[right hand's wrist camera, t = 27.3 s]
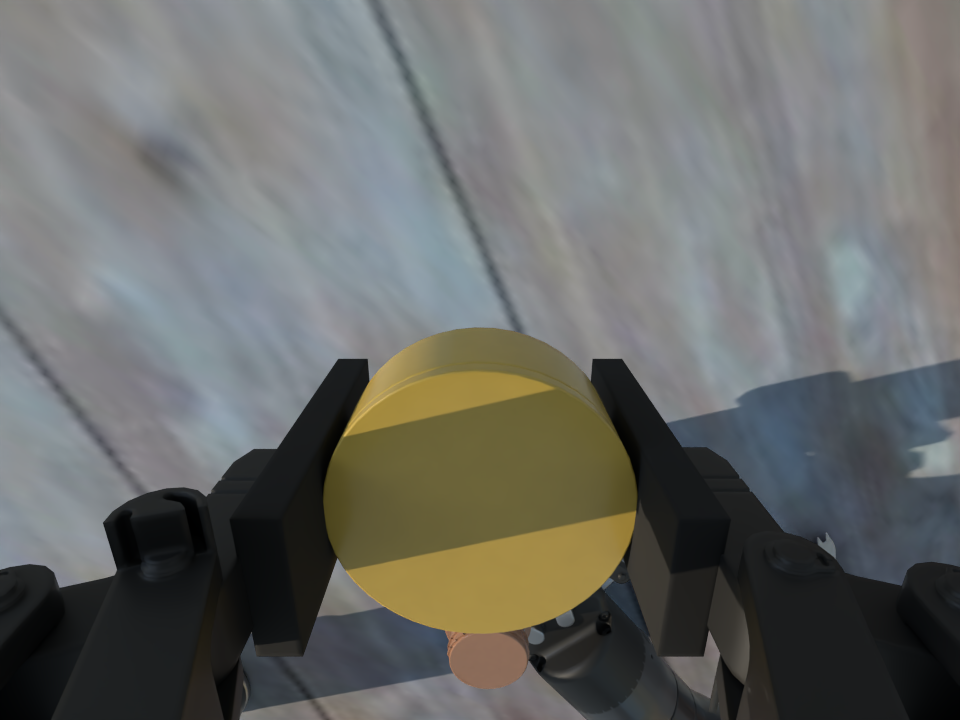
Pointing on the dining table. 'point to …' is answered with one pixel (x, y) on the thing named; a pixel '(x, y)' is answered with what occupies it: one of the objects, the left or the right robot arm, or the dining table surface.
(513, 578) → the lid
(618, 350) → the dining table surface
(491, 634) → the jar
